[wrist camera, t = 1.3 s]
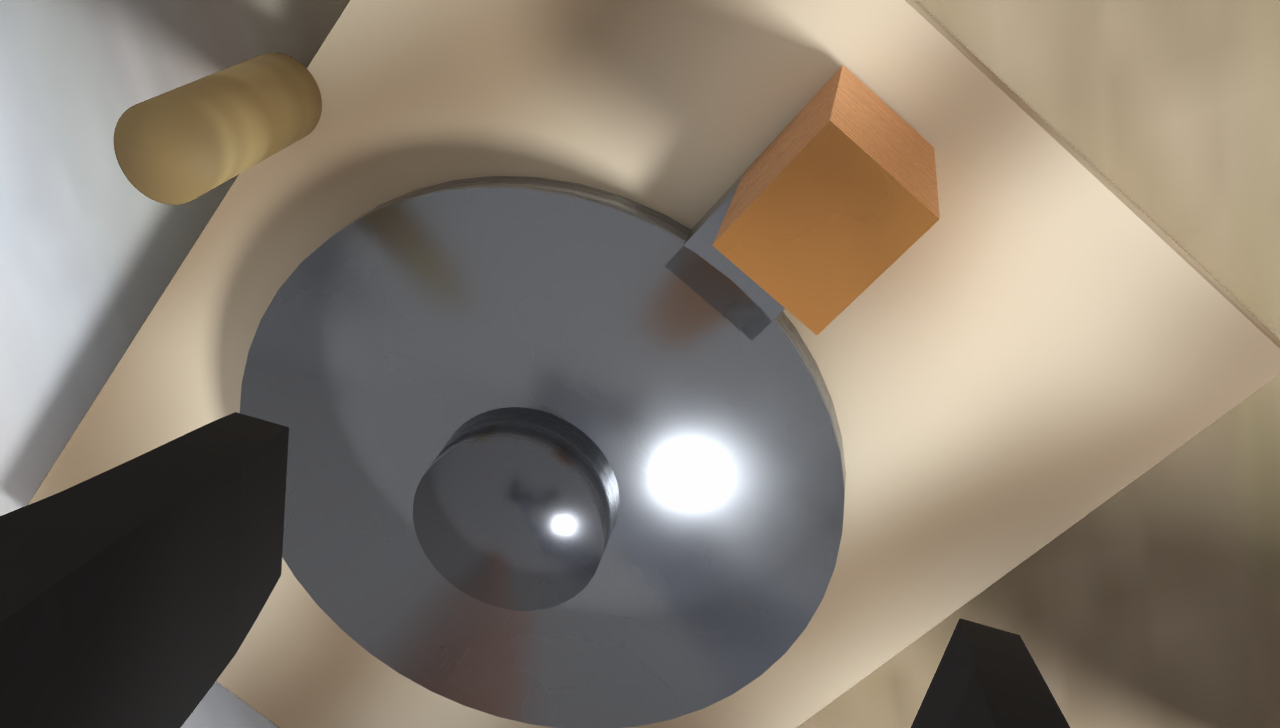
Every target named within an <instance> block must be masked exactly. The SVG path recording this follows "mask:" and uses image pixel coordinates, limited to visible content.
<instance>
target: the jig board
mask: <svg viewBox="0 0 1280 728" xmlns="http://www.w3.org/2000/svg"><path fill="white" fill-rule="evenodd" d="M842 65H844V66H845V67H846V68H847V69H848V70H849V71H851V72H852V73H853V74H854V75H855V76H856V77H857V78H858V79H859V80H860V81H862V82H863V83H864V84H865V85H866V86H867V87H868V88H869V89H870V90H871V91H873V92H874V93H875V94H876V95H877V96H878V97H879V98H880V99H881V100H882V101H884V102H885V103H886V104H887V105H888V106H889V107H890V108H891V109H892V110H893V111H895V112H896V113H897V114H898V115H899V116H900V117H901V118H902V119H903V120H904V121H906V122H907V123H908V124H909V125H910V126H911V127H912V128H913V129H914V130H915V131H917V132H918V133H919V134H920V135H921V136H922V137H923V138H924V139H925V140H926V141H927V142H929V143H930V144H931V145H932V146H933V147H934V153H935V165H936V178H937V190H938V202H939V215H940V219H939V220H938V221H937V222H936V223H935V224H934V225H933V226H932V227H931V228H930V229H929V230H928V231H927V232H926V233H925V234H924V235H923V236H922V237H920V238H919V239H918V240H917V241H916V242H915V243H914V244H913V245H912V246H911V247H910V248H909V249H908V250H907V251H906V252H905V253H904V254H903V255H902V256H900V257H899V258H898V259H897V260H896V261H895V262H894V263H893V264H892V265H891V266H890V267H889V268H888V269H887V270H886V271H885V272H884V273H883V274H881V275H880V276H879V277H878V278H877V279H876V280H875V281H874V282H873V283H872V284H871V285H870V286H869V287H868V288H867V289H866V290H865V291H864V292H863V293H861V294H860V295H859V296H858V297H857V298H856V299H855V300H854V301H853V302H852V303H851V304H850V305H849V306H848V307H847V308H846V309H845V310H844V311H842V312H841V313H840V314H839V315H838V316H837V317H836V318H835V319H834V320H833V321H832V322H831V323H830V324H829V325H828V326H827V327H826V328H825V329H824V330H822V331H821V332H820V333H819V334H818V335H815V334H814V333H813V332H812V331H811V330H810V329H809V328H807V327H806V326H805V325H804V324H803V323H802V322H800V321H799V320H798V319H797V318H796V317H795V316H793V315H792V314H791V313H790V312H789V311H788V310H787V309H784V310H783V312H784V314H785V315H786V316H787V317H788V319H789V320H790V321H791V322H792V324H793V325H794V326H795V328H796V329H797V331H798V333H799V334H800V336H801V338H802V339H803V341H804V343H805V344H806V346H807V348H808V349H809V351H810V353H811V354H812V356H813V358H814V359H815V361H816V363H817V365H818V367H819V370H820V372H821V375H822V377H823V379H824V382H825V384H826V386H827V389H828V391H829V394H830V396H831V398H832V401H833V405H834V409H835V412H836V416H837V420H838V424H839V428H840V432H841V435H842V442H843V451H844V461H845V470H846V483H845V505H844V519H843V530H842V537H841V541H840V546H839V551H838V556H837V561H836V565H835V569H834V571H833V574H832V577H831V579H830V582H829V584H828V587H827V590H826V592H825V595H824V598H823V600H822V601H821V603H820V605H819V607H818V608H817V610H816V612H815V614H814V615H813V617H812V619H811V620H810V622H809V624H808V626H807V627H806V629H805V630H804V631H803V632H802V634H801V635H800V636H799V637H798V639H797V640H796V641H795V642H794V643H793V645H792V646H791V647H790V648H789V650H788V651H787V652H786V653H785V654H784V655H783V656H782V657H781V658H780V659H779V660H778V661H776V662H775V663H774V664H773V665H772V666H771V667H770V668H769V669H768V670H767V671H765V672H764V673H763V674H762V675H761V676H760V677H758V678H757V679H755V680H754V681H752V682H751V683H749V684H748V685H746V686H745V687H743V688H742V689H740V690H739V691H737V692H736V693H734V694H733V695H731V696H728V697H726V698H724V699H722V700H720V701H718V702H716V703H714V704H712V705H710V706H708V707H706V708H704V709H701V710H698V711H695V712H692V713H689V714H686V715H683V716H680V717H677V718H675V719H672V720H667V721H662V722H657V723H653V724H648V725H643V726H638V727H627V728H796V727H798V726H799V725H800V724H802V723H803V722H805V721H806V720H807V719H809V718H810V717H811V716H813V715H814V714H816V713H817V712H818V711H820V710H821V709H822V708H824V707H825V706H826V705H828V704H829V703H831V702H832V701H833V700H835V699H836V698H837V697H839V696H840V695H841V694H843V693H844V692H846V691H847V690H848V689H850V688H851V687H852V686H854V685H855V684H857V683H858V682H859V681H861V680H862V679H863V678H865V677H866V676H867V675H869V674H870V673H872V672H873V671H874V670H876V669H877V668H878V667H880V666H881V665H883V664H884V663H885V662H887V661H888V660H889V659H891V658H892V657H893V656H895V655H896V654H898V653H899V652H900V651H902V650H903V649H904V648H906V647H907V646H909V645H910V644H911V643H913V642H914V641H915V640H917V639H918V638H919V637H921V636H922V635H924V634H925V633H926V632H928V631H929V630H930V629H932V628H933V627H934V626H936V625H937V624H939V623H940V622H941V621H943V620H944V619H945V618H947V617H948V616H950V615H951V614H952V613H954V612H955V611H956V610H958V609H959V608H960V607H962V606H963V605H965V604H966V603H967V602H969V601H970V600H971V599H973V598H974V597H976V596H977V595H978V594H980V593H981V592H982V591H984V590H985V589H986V588H988V587H989V586H991V585H992V584H993V583H995V582H996V581H997V580H999V579H1000V578H1002V577H1003V576H1004V575H1006V574H1007V573H1008V572H1010V571H1011V570H1012V569H1014V568H1015V567H1017V566H1018V565H1019V564H1021V563H1022V562H1023V561H1025V560H1026V559H1027V558H1029V557H1030V556H1032V555H1033V554H1034V553H1036V552H1037V551H1038V550H1040V549H1041V548H1043V547H1044V546H1045V545H1047V544H1048V543H1049V542H1051V541H1052V540H1053V539H1055V538H1056V537H1058V536H1059V535H1060V534H1062V533H1063V532H1064V531H1066V530H1067V529H1069V528H1070V527H1071V526H1073V525H1074V524H1075V523H1077V522H1078V521H1079V520H1081V519H1082V518H1084V517H1085V516H1086V515H1088V514H1089V513H1090V512H1092V511H1093V510H1095V509H1096V508H1097V507H1099V506H1100V505H1101V504H1103V503H1104V502H1105V501H1107V500H1108V499H1110V498H1111V497H1112V496H1114V495H1115V494H1116V493H1118V492H1119V491H1120V490H1122V489H1123V488H1125V487H1126V486H1127V485H1129V484H1130V483H1131V482H1133V481H1134V480H1136V479H1137V478H1138V477H1140V476H1141V475H1142V474H1144V473H1145V472H1146V471H1148V470H1149V469H1151V468H1152V467H1153V466H1155V465H1156V464H1157V463H1159V462H1160V461H1162V460H1163V459H1164V458H1166V457H1167V456H1168V455H1170V454H1171V453H1172V452H1174V451H1175V450H1177V449H1178V448H1179V447H1181V446H1182V445H1183V444H1185V443H1186V442H1187V441H1189V440H1190V439H1192V438H1193V437H1194V436H1196V435H1197V434H1198V433H1200V432H1201V431H1203V430H1204V429H1205V428H1207V427H1208V426H1209V425H1211V424H1212V423H1213V422H1215V421H1216V420H1218V419H1219V418H1220V417H1222V416H1223V415H1224V414H1226V413H1227V412H1229V411H1230V410H1231V409H1233V408H1234V407H1235V406H1237V405H1238V404H1239V403H1241V402H1242V401H1244V400H1245V399H1246V398H1248V397H1249V396H1250V395H1252V394H1253V393H1255V392H1256V391H1257V390H1259V389H1260V388H1261V387H1263V386H1264V385H1265V384H1267V383H1268V382H1270V381H1271V380H1272V379H1274V378H1275V377H1276V376H1278V375H1279V374H1280V340H1279V339H1278V338H1277V337H1276V336H1275V335H1274V334H1273V333H1272V332H1271V331H1270V330H1269V329H1268V328H1266V327H1265V326H1264V325H1263V324H1262V323H1261V322H1260V321H1259V320H1258V319H1257V318H1256V317H1255V316H1254V315H1252V314H1251V313H1250V312H1249V311H1248V310H1247V309H1246V308H1245V307H1244V306H1243V305H1242V304H1241V303H1240V302H1239V301H1237V300H1236V299H1235V298H1234V297H1233V296H1232V295H1231V294H1230V293H1229V292H1228V291H1227V290H1226V289H1225V288H1223V287H1222V286H1221V285H1220V284H1219V283H1218V282H1217V281H1216V280H1215V279H1214V278H1213V277H1212V276H1211V275H1210V274H1208V273H1207V272H1206V271H1205V270H1204V269H1203V268H1202V267H1201V266H1200V265H1199V264H1198V263H1197V262H1196V261H1194V260H1193V259H1192V258H1191V257H1190V256H1189V255H1188V254H1187V253H1186V252H1185V251H1184V250H1183V249H1182V248H1181V247H1179V246H1178V245H1177V244H1176V243H1175V242H1174V241H1173V240H1172V239H1171V238H1170V237H1169V236H1168V235H1167V234H1165V233H1164V232H1163V231H1162V230H1161V229H1160V228H1159V227H1158V226H1157V225H1156V224H1155V223H1154V222H1153V221H1152V220H1150V219H1149V218H1148V217H1147V216H1146V215H1145V214H1144V213H1143V212H1142V211H1141V210H1140V209H1139V208H1138V207H1136V206H1135V205H1134V204H1133V203H1132V202H1131V201H1130V200H1129V199H1128V198H1127V197H1126V196H1125V195H1124V194H1123V193H1121V192H1120V191H1119V190H1118V189H1117V188H1116V187H1115V186H1114V185H1113V184H1112V183H1111V182H1110V181H1109V180H1107V179H1106V178H1105V177H1104V176H1103V175H1102V174H1101V173H1100V172H1099V171H1098V170H1097V169H1096V168H1095V167H1094V166H1092V165H1091V164H1090V163H1089V162H1088V161H1087V160H1086V159H1085V158H1084V157H1083V156H1082V155H1081V154H1080V153H1078V152H1077V151H1076V150H1075V149H1074V148H1073V147H1072V146H1071V145H1070V144H1069V143H1068V142H1067V141H1066V140H1065V139H1063V138H1062V137H1061V136H1060V135H1059V134H1058V133H1057V132H1056V131H1055V130H1054V129H1053V128H1052V127H1051V126H1049V125H1048V124H1047V123H1046V122H1045V121H1044V120H1043V119H1042V118H1041V117H1040V116H1039V115H1038V114H1037V113H1036V112H1034V111H1033V110H1032V109H1031V108H1030V107H1029V106H1028V105H1027V104H1026V103H1025V102H1024V101H1023V100H1022V99H1020V98H1019V97H1018V96H1017V95H1016V94H1015V93H1014V92H1013V91H1012V90H1011V89H1010V88H1009V87H1008V86H1007V85H1005V84H1004V83H1003V82H1002V81H1001V80H1000V79H999V78H998V77H997V76H996V75H995V74H994V73H993V72H991V71H990V70H989V69H988V68H987V67H986V66H985V65H984V64H983V63H982V62H981V61H980V60H979V59H978V58H976V57H975V56H974V55H973V54H972V53H971V52H970V51H969V50H968V49H967V48H966V47H965V46H964V45H962V44H961V43H960V42H959V41H958V40H957V39H956V38H955V37H954V36H953V35H952V34H951V33H950V32H949V31H947V30H946V29H945V28H944V27H943V26H942V25H941V24H940V23H939V22H938V21H937V20H936V19H935V18H934V17H932V16H931V15H930V14H929V13H928V12H927V11H926V10H925V9H924V8H923V7H922V6H921V5H920V4H918V3H917V2H916V1H915V0H350V2H349V3H348V5H347V6H346V8H345V9H344V11H343V12H342V14H341V16H340V17H339V19H338V20H337V22H336V23H335V25H334V27H333V28H332V30H331V31H330V33H329V34H328V36H327V38H326V39H325V41H324V42H323V44H322V45H321V47H320V48H319V50H318V52H317V53H316V55H315V56H314V58H313V59H312V61H311V63H310V64H309V66H308V67H307V68H306V67H305V66H304V65H303V64H301V63H300V62H299V61H297V60H296V59H294V58H292V57H290V56H288V55H285V54H281V53H265V54H262V55H259V56H256V57H254V58H251V59H249V60H246V61H244V62H241V63H239V64H236V65H234V66H231V67H229V68H226V69H224V70H221V71H219V72H216V73H214V74H211V75H209V76H206V77H204V78H201V79H199V80H196V81H194V82H191V83H189V84H186V85H184V86H181V87H179V88H176V89H174V90H171V91H169V92H166V93H164V94H161V95H159V96H156V97H154V98H151V99H149V100H146V101H144V102H141V103H139V104H136V105H134V106H132V107H130V108H129V109H127V110H126V111H125V112H124V113H123V114H122V116H121V117H120V119H119V120H118V122H117V125H116V128H115V132H114V149H115V154H116V158H117V160H118V163H119V165H120V167H121V169H122V171H123V173H124V174H125V176H126V177H127V179H128V180H129V181H130V182H131V184H132V185H133V186H134V187H135V188H136V189H138V190H139V191H140V192H141V193H143V194H144V195H145V196H147V197H149V198H150V199H152V200H155V201H157V202H160V203H164V204H169V205H179V204H184V203H188V202H190V201H192V200H194V199H196V198H198V197H199V196H201V195H203V194H205V193H206V192H208V191H210V190H212V189H213V188H215V187H217V186H219V185H221V184H222V183H224V182H226V181H228V180H229V179H231V178H233V177H235V176H237V175H238V174H239V175H238V177H237V178H236V180H235V181H234V183H233V185H232V186H231V188H230V189H229V191H228V192H227V194H226V196H225V197H224V199H223V200H222V202H221V203H220V205H219V207H218V208H217V210H216V211H215V213H214V214H213V216H212V217H211V219H210V221H209V222H208V224H207V225H206V227H205V228H204V230H203V232H202V233H201V235H200V236H199V238H198V239H197V241H196V242H195V244H194V246H193V247H192V249H191V250H190V252H189V253H188V255H187V257H186V258H185V260H184V261H183V263H182V264H181V266H180V268H179V269H178V271H177V272H176V274H175V275H174V277H173V278H172V280H171V282H170V283H169V285H168V286H167V288H166V289H165V291H164V293H163V294H162V296H161V297H160V299H159V300H158V302H157V304H156V305H155V307H154V308H153V310H152V311H151V313H150V314H149V316H148V318H147V319H146V321H145V322H144V324H143V325H142V327H141V329H140V330H139V332H138V333H137V335H136V336H135V338H134V340H133V341H132V343H131V344H130V346H129V347H128V349H127V350H126V352H125V354H124V355H123V357H122V358H121V360H120V361H119V363H118V365H117V366H116V368H115V369H114V371H113V372H112V374H111V375H110V377H109V379H108V380H107V382H106V383H105V385H104V386H103V388H102V390H101V391H100V393H99V394H98V396H97V397H96V399H95V401H94V402H93V404H92V405H91V407H90V408H89V410H88V411H87V413H86V415H85V416H84V418H83V419H82V421H81V422H80V424H79V426H78V427H77V429H76V430H75V432H74V433H73V435H72V437H71V438H70V440H69V441H68V443H67V444H66V446H65V447H64V449H63V451H62V452H61V454H60V455H59V457H58V458H57V460H56V462H55V463H54V465H53V466H52V468H51V469H50V471H49V472H48V474H47V476H46V477H45V479H44V480H43V482H42V483H41V485H40V487H39V488H38V490H37V491H36V493H35V494H34V496H33V498H32V499H31V501H30V502H29V504H28V505H30V504H32V503H35V502H37V501H40V500H42V499H45V498H47V497H49V496H52V495H54V494H57V493H59V492H61V491H64V490H66V489H68V488H70V487H72V486H75V485H77V484H79V483H81V482H83V481H86V480H88V479H90V478H92V477H94V476H97V475H99V474H101V473H103V472H105V471H108V470H110V469H112V468H114V467H116V466H119V465H121V464H123V463H125V462H127V461H129V460H132V459H134V458H136V457H138V456H140V455H142V454H144V453H147V452H149V451H151V450H153V449H155V448H157V447H159V446H161V445H164V444H166V443H168V442H170V441H172V440H174V439H176V438H178V437H181V436H183V435H185V434H187V433H189V432H191V431H193V430H196V429H198V428H200V427H202V426H204V425H206V424H209V423H211V422H213V421H215V420H218V419H220V418H222V417H225V416H227V415H230V414H232V413H234V412H237V413H240V400H241V385H242V379H243V375H244V370H245V365H246V361H247V356H248V352H249V349H250V346H251V343H252V341H253V338H254V336H255V333H256V331H257V328H258V325H259V323H260V320H261V318H262V317H263V315H264V313H265V311H266V310H267V308H268V306H269V305H270V303H271V301H272V300H273V298H274V296H275V295H276V293H277V291H278V289H279V288H280V287H281V286H282V285H283V283H284V282H285V281H286V280H287V279H288V278H289V276H290V275H291V274H292V273H293V272H294V270H295V269H296V268H297V267H298V266H299V264H300V263H301V262H302V261H303V260H305V259H306V258H307V257H308V256H309V255H310V254H312V253H313V252H314V251H315V250H316V249H317V248H319V247H320V246H321V245H322V244H323V243H324V242H326V241H327V240H328V239H329V238H330V237H332V236H333V235H334V234H336V233H337V232H338V231H340V230H341V229H342V228H343V227H345V226H346V225H347V224H349V223H351V222H352V221H354V220H356V219H357V218H359V217H360V216H362V215H364V214H365V213H367V212H368V211H370V210H372V209H373V208H375V207H377V206H378V205H380V204H383V203H385V202H388V201H390V200H392V199H395V198H397V197H399V196H402V195H404V194H406V193H409V192H411V191H414V190H417V189H421V188H425V187H429V186H433V185H437V184H441V183H444V182H448V181H452V180H461V179H470V178H479V177H488V176H518V177H540V178H546V179H552V180H559V181H565V182H572V183H578V184H582V185H586V186H589V187H592V188H596V189H599V190H603V191H606V192H610V193H613V194H617V195H620V196H623V197H625V198H628V199H630V200H632V201H635V202H637V203H639V204H642V205H644V206H647V207H649V208H651V209H654V210H656V211H658V212H661V213H663V214H665V215H666V216H668V217H670V218H672V219H673V220H675V221H677V222H678V223H680V224H682V225H684V226H685V227H687V228H689V229H690V230H692V228H693V227H694V226H695V225H696V224H697V223H698V222H699V221H700V220H701V219H702V218H703V216H704V215H705V214H706V213H707V212H708V211H709V210H710V209H711V208H712V207H713V206H714V204H715V203H716V202H717V201H718V200H719V199H720V198H721V197H722V196H723V195H724V194H725V192H726V191H727V190H728V189H729V188H730V187H731V186H732V185H733V184H734V183H735V182H736V181H737V179H738V178H739V177H740V176H741V175H742V174H743V173H744V172H745V171H746V170H747V169H748V167H749V166H750V165H751V164H752V163H753V162H754V161H755V160H756V159H757V158H758V157H759V155H760V154H761V153H762V152H763V151H764V150H765V149H766V148H767V147H768V146H769V145H770V143H771V142H772V141H773V140H774V139H775V138H776V137H777V136H778V135H779V134H780V133H781V131H782V130H783V129H784V128H785V127H786V126H787V125H788V124H789V123H790V122H791V121H792V120H793V118H794V117H795V116H796V115H797V114H798V113H799V112H800V111H801V110H802V109H803V108H804V106H805V105H806V104H807V103H808V102H809V101H810V100H811V99H812V98H813V97H814V96H815V94H816V93H817V92H818V91H819V90H820V89H821V88H822V87H823V86H824V85H825V84H826V82H827V81H828V80H829V79H830V78H831V77H832V76H833V75H834V74H835V73H836V72H837V70H838V69H839V68H840V67H841V66H842ZM216 682H218V683H219V684H220V685H222V686H223V687H225V688H226V689H227V690H229V691H230V692H231V693H233V694H234V695H235V696H237V697H238V698H239V699H241V700H242V701H244V702H245V703H246V704H248V705H249V706H250V707H252V708H253V709H254V710H256V711H257V712H258V713H260V714H261V715H263V716H264V717H265V718H267V719H268V720H269V721H271V722H272V723H273V724H275V725H276V726H277V727H279V728H555V727H547V726H539V725H532V724H527V723H523V722H519V721H514V720H510V719H505V718H501V717H497V716H494V715H491V714H488V713H485V712H482V711H479V710H476V709H473V708H469V707H466V706H464V705H461V704H459V703H457V702H454V701H452V700H450V699H448V698H445V697H443V696H441V695H438V694H436V693H434V692H432V691H430V690H428V689H426V688H424V687H422V686H421V685H419V684H417V683H415V682H413V681H412V680H410V679H408V678H406V677H404V676H403V675H401V674H399V673H398V672H396V671H395V670H393V669H392V668H390V667H389V666H387V665H386V664H385V663H383V662H382V661H380V660H379V659H377V658H376V657H374V656H373V655H371V654H370V653H369V652H368V651H366V650H365V649H364V648H363V647H362V646H360V645H359V644H358V643H357V642H356V641H354V640H353V639H352V638H351V637H350V636H348V635H347V634H346V633H345V632H344V631H342V630H341V629H340V628H339V627H338V625H337V624H336V623H335V622H334V621H333V620H332V619H331V618H330V617H329V616H328V615H327V614H326V613H325V612H324V611H323V610H322V609H321V608H320V607H319V606H318V605H317V604H316V603H315V601H314V600H313V599H312V598H311V596H310V595H309V594H308V593H307V591H306V590H305V589H304V588H303V586H302V585H301V584H300V583H299V581H298V580H297V579H296V578H295V576H294V575H293V573H292V572H291V570H290V568H289V567H288V565H287V564H286V562H285V561H284V559H283V557H282V570H281V576H280V578H279V580H278V582H277V584H276V585H275V587H274V589H273V591H272V593H271V594H270V596H269V598H268V600H267V602H266V603H265V605H264V607H263V609H262V610H261V612H260V614H259V616H258V618H257V619H256V621H255V623H254V624H253V626H252V628H251V629H250V631H249V633H248V634H247V636H246V638H245V640H244V641H243V643H242V645H241V646H240V648H239V650H238V651H237V653H236V655H235V656H234V657H233V659H232V660H231V661H230V663H229V664H228V665H227V667H226V668H225V669H224V671H223V672H222V673H221V675H220V676H219V677H218V679H217V680H216Z"/></svg>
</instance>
